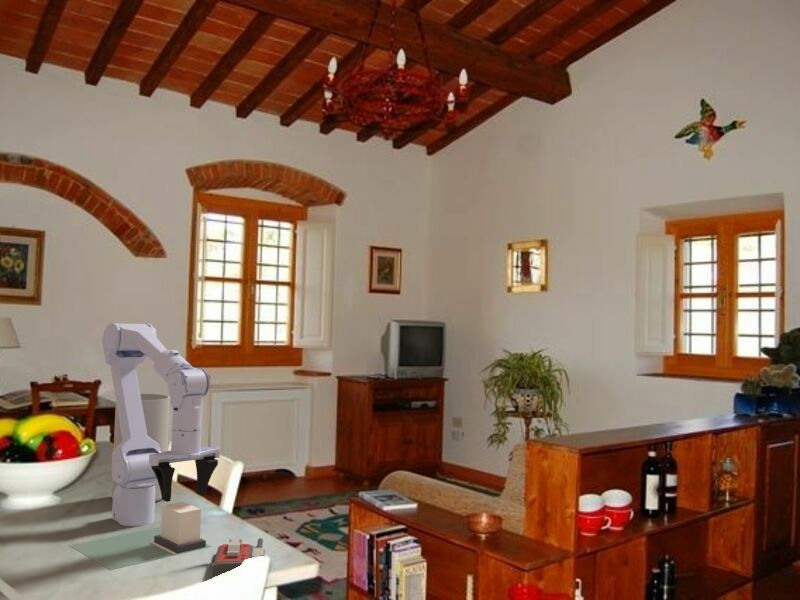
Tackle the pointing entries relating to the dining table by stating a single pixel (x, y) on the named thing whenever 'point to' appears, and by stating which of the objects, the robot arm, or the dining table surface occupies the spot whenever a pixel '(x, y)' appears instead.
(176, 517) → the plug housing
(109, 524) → the dining table surface
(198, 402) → the robot arm
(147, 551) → the header board
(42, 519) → the dining table surface
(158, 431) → the cylinder vase
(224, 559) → the walkie-talkie
